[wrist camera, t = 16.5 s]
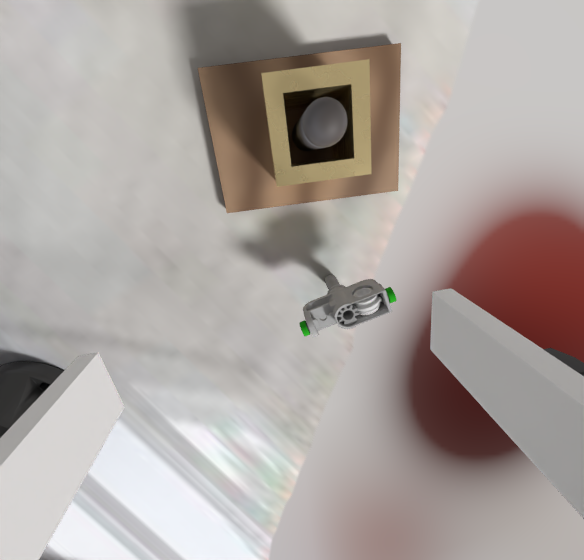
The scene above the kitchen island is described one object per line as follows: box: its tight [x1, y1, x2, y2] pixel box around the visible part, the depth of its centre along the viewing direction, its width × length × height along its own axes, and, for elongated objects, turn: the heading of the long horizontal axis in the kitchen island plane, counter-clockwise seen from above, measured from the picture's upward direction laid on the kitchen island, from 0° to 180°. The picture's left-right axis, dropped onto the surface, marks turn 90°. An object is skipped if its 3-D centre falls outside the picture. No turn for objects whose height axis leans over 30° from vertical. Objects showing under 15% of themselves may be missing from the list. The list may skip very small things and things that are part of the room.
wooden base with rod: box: [198, 43, 401, 213], centre depth 26 cm, size 20×14×14 cm
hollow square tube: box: [261, 59, 371, 187], centre depth 27 cm, size 8×8×9 cm
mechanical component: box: [300, 275, 396, 337], centre depth 35 cm, size 3×10×10 cm, turn 112°
